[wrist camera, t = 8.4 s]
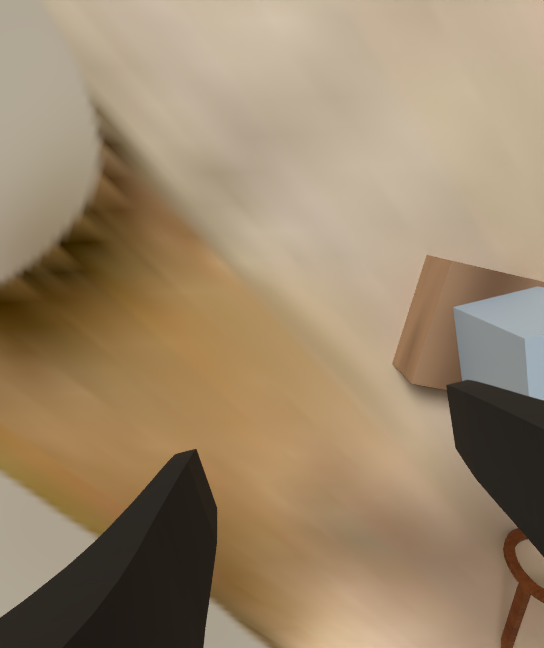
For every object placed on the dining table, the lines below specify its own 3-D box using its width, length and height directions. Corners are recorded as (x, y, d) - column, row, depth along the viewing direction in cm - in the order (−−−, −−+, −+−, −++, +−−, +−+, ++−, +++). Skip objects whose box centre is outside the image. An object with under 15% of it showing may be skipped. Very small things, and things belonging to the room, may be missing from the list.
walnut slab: (529, 278, 21) (572, 288, 19) (489, 381, 23) (524, 405, 20) (424, 254, 21) (451, 260, 18) (390, 361, 22) (410, 383, 19)
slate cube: (538, 286, 18) (640, 310, 14) (543, 365, 19) (640, 414, 15) (453, 307, 18) (524, 338, 14) (462, 385, 20) (532, 440, 15)
